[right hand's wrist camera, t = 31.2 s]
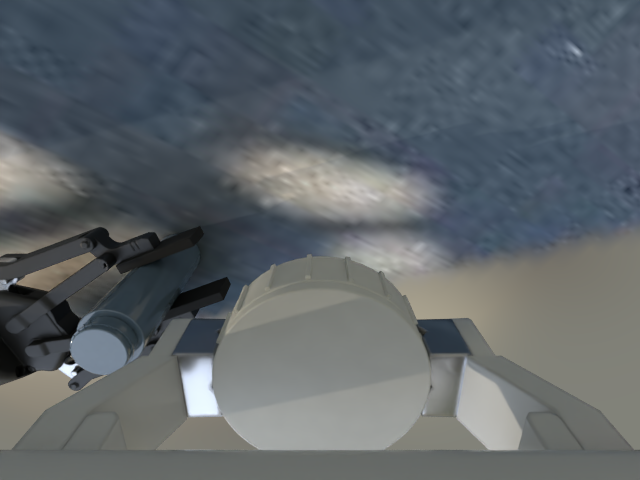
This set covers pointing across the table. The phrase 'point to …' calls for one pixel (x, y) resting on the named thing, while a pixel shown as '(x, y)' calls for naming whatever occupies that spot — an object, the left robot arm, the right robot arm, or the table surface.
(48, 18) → the table surface
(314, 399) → the lid
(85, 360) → the grey cylinder
